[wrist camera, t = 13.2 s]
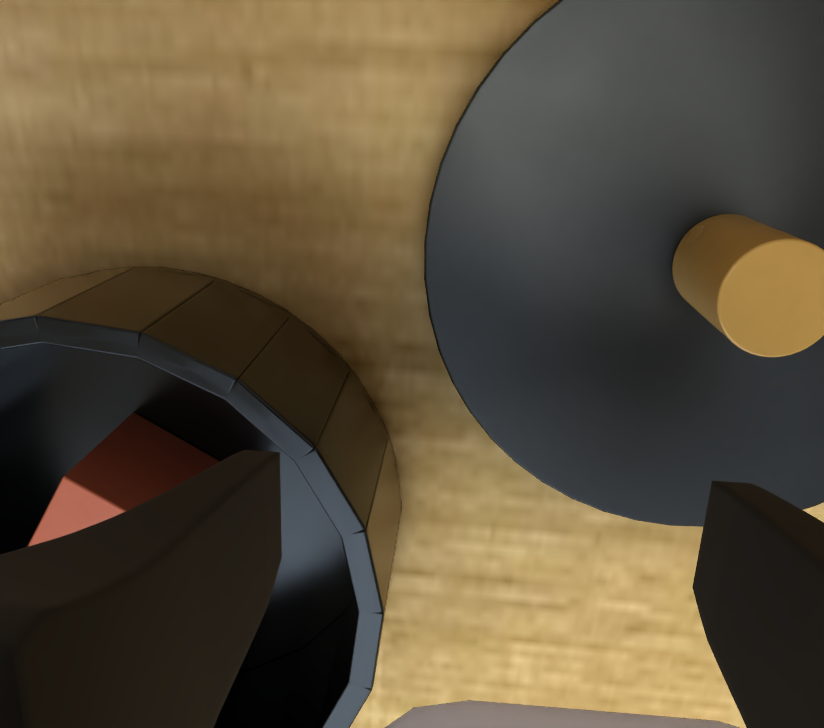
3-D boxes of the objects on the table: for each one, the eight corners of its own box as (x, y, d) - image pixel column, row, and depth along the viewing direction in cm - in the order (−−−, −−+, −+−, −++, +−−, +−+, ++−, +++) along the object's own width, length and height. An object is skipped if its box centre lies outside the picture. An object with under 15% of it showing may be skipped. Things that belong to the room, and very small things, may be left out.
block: (77, 515, 23) (0, 597, 19) (133, 411, 22) (62, 476, 18) (196, 580, 23) (143, 673, 20) (257, 482, 22) (214, 560, 18)
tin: (-99, 571, 24) (-249, 694, 19) (20, 178, 20) (-132, 202, 15) (291, 741, 26) (246, 900, 20) (483, 402, 21) (487, 496, 16)
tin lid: (336, 369, 21) (302, 440, 17) (608, -189, 17) (659, -294, 12) (784, 585, 22) (862, 704, 18) (1152, 119, 18) (1378, 124, 13)
